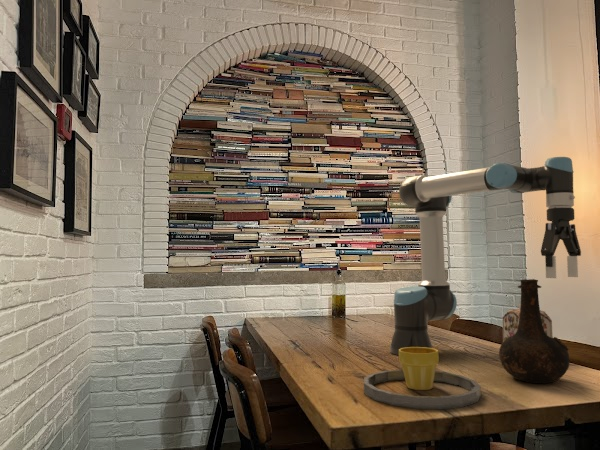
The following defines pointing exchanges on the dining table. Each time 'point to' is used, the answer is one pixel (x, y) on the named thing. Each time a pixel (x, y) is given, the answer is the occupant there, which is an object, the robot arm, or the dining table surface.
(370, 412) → the dining table surface
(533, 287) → the glass bottle
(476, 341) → the dining table surface
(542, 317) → the decorative jar
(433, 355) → the plant pot
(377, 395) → the centring collar
